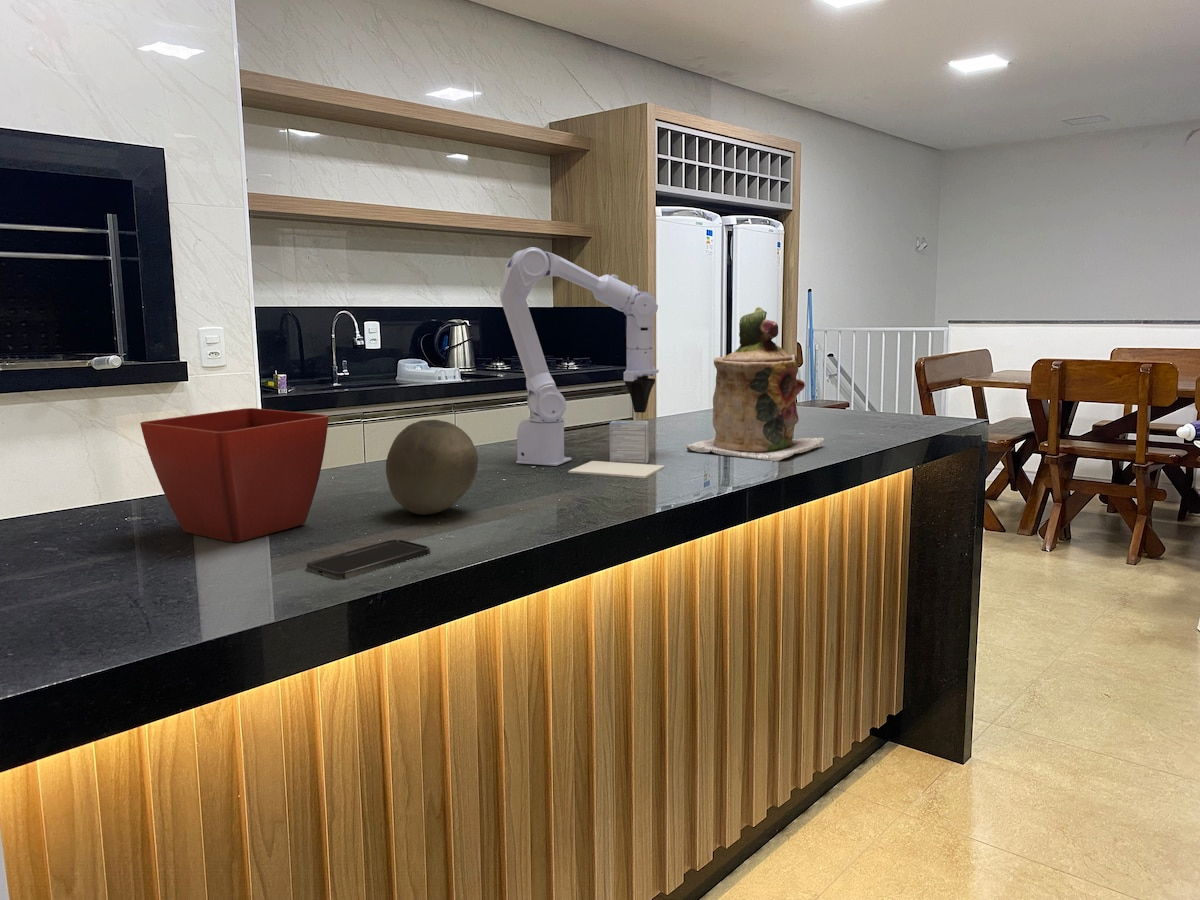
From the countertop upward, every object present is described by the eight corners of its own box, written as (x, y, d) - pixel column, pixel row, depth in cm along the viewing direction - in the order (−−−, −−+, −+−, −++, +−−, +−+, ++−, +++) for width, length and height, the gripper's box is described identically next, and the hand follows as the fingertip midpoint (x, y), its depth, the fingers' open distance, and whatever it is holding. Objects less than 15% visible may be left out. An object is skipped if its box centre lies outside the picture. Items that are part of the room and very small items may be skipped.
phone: (433, 547, 121) (340, 574, 110) (433, 555, 121) (341, 583, 110) (395, 538, 126) (302, 563, 114) (395, 546, 126) (302, 571, 115)
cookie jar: (681, 452, 201) (682, 307, 196) (730, 438, 221) (733, 306, 216) (784, 463, 187) (788, 307, 182) (827, 447, 207) (832, 306, 202)
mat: (568, 472, 178) (568, 470, 177) (592, 462, 188) (592, 460, 188) (644, 478, 171) (644, 476, 171) (664, 467, 182) (664, 465, 182)
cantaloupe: (402, 528, 135) (398, 429, 132) (379, 509, 147) (374, 418, 145) (490, 517, 141) (488, 422, 139) (461, 500, 154) (458, 413, 151)
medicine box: (649, 460, 190) (649, 420, 189) (647, 464, 186) (647, 423, 185) (612, 460, 192) (611, 419, 190) (609, 464, 187) (609, 422, 186)
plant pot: (229, 553, 122) (219, 430, 119) (146, 535, 132) (136, 421, 129) (338, 523, 138) (332, 414, 135) (257, 509, 148) (250, 407, 145)
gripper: (646, 350, 183) (646, 417, 185) (668, 347, 196) (668, 409, 198) (614, 350, 186) (614, 415, 188) (638, 346, 199) (638, 407, 201)
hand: (640, 412), depth 193 cm, fingers closed
